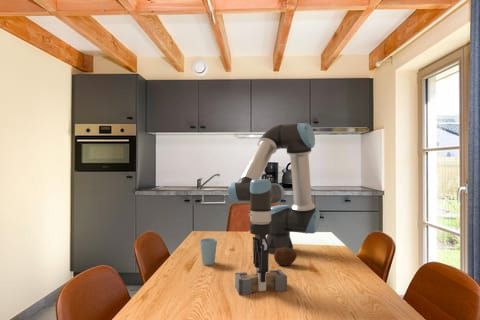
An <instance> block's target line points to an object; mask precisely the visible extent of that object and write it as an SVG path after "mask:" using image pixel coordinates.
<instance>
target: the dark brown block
mask: <svg viewBox="0 0 480 320" xmlns="http://www.w3.org/2000/svg"><path fill="white" fill-rule="evenodd" d="M240 276H241V278H242V279H243V278H251V293H253V292H255V291H256V292H259V291H258V274H255V273H250V274H248V273H247V275H240ZM275 276H280V275H279V274H278V273H277V272H273V273H269V272H266V290H267V291H275Z"/></svg>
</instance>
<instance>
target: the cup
mask: <svg viewBox="0 0 480 320" xmlns="http://www.w3.org/2000/svg"><path fill="white" fill-rule="evenodd" d="M217 244H218V239H216V238H212V237H210V238H209V237H208V238H203V239H202V238H201V239H200V240H199V245H200V253H201V254H200V255H201V262H202V265H204V266H212V265H215V262H216V253H217Z"/></svg>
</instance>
